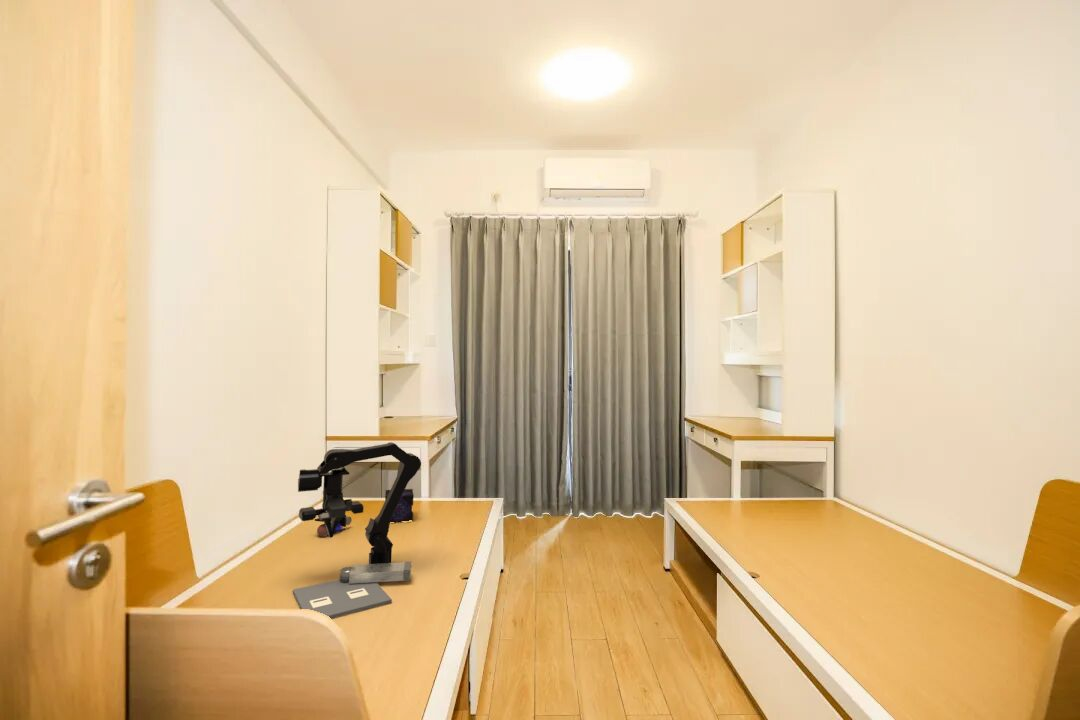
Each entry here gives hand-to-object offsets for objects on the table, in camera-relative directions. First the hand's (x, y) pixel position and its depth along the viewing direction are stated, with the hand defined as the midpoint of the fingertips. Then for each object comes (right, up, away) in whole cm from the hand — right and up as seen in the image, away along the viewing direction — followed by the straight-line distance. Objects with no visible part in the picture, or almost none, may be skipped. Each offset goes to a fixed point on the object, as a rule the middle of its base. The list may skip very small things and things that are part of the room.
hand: (330, 537), depth 156 cm
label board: (+10, -12, -16) cm, 22 cm away
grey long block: (+16, -11, -5) cm, 20 cm away
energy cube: (+4, -15, +61) cm, 63 cm away
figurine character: (-17, -13, +41) cm, 46 cm away
